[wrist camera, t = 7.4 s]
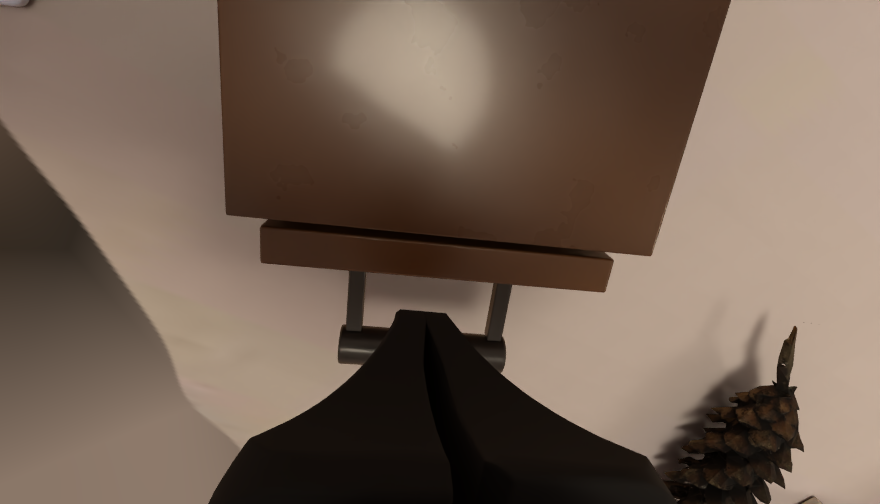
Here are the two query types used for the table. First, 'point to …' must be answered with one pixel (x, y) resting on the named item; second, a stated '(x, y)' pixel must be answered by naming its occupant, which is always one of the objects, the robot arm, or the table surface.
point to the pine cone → (744, 444)
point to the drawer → (429, 272)
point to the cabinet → (464, 114)
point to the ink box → (812, 501)
